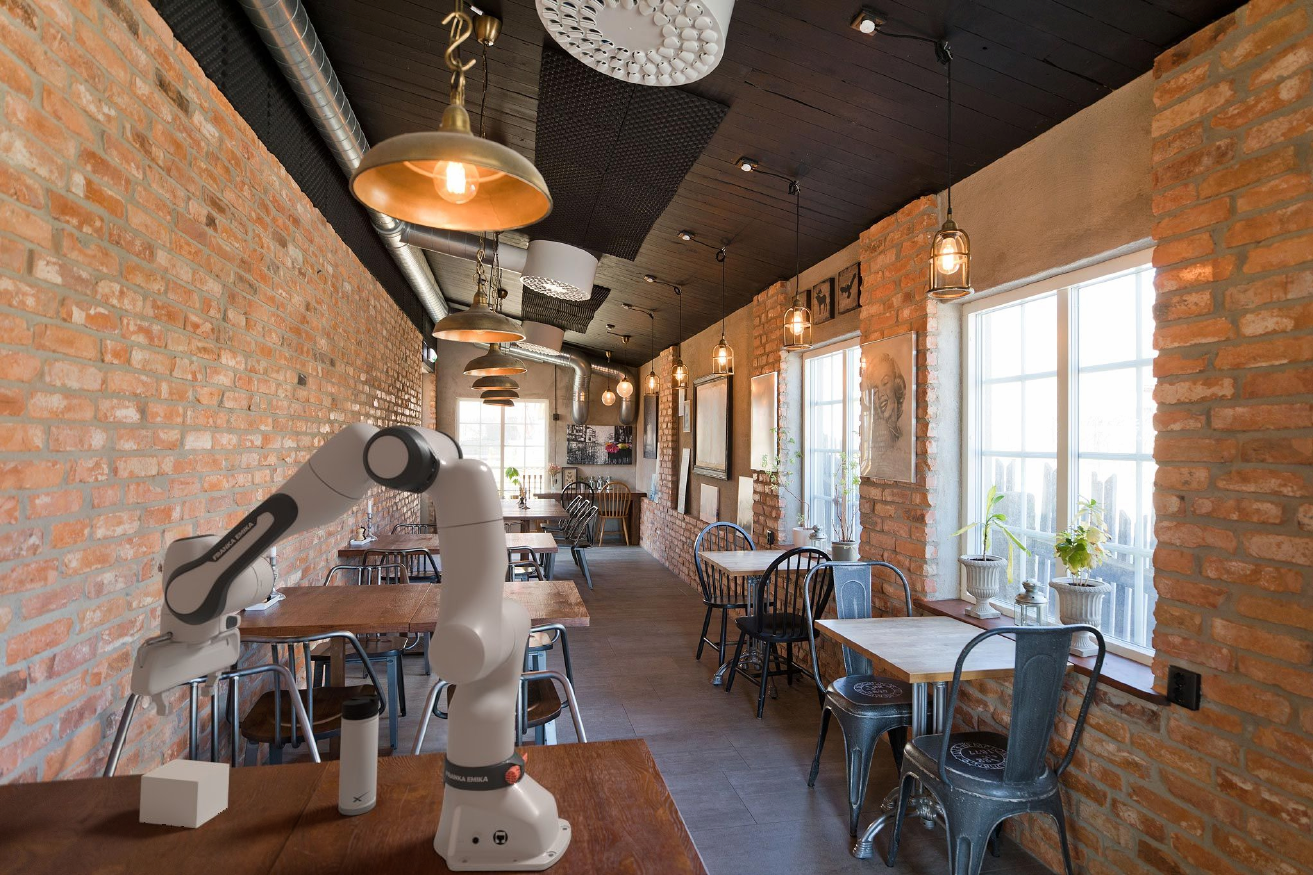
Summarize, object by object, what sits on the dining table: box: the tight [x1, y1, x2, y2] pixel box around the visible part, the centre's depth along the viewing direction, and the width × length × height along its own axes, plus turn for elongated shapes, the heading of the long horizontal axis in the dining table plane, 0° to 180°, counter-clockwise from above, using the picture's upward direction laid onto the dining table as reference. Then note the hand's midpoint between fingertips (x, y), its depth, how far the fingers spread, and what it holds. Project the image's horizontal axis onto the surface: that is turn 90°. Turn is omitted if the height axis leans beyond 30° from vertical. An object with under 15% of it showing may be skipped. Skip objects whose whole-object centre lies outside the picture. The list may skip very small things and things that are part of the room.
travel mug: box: [338, 693, 381, 816], centre depth 126 cm, size 6×7×20 cm
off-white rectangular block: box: [139, 758, 230, 829], centre depth 122 cm, size 11×7×8 cm, turn 82°
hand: (187, 704), depth 123 cm, fingers open, 8 cm apart
